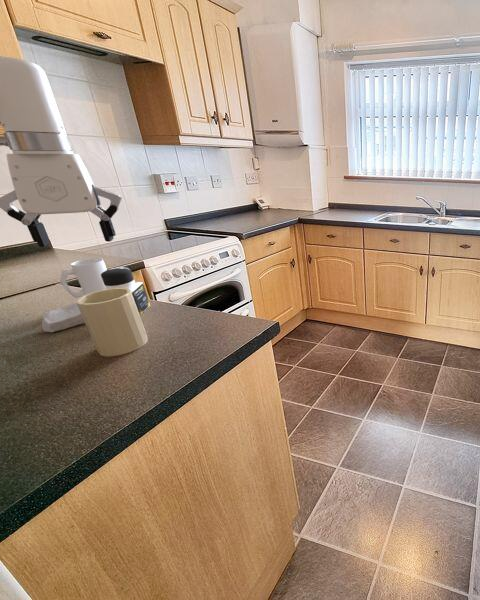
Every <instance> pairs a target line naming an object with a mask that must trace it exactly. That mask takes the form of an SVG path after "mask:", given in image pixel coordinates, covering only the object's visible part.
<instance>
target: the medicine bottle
mask: <svg viewBox="0 0 480 600" xmlns="http://www.w3.org/2000/svg"><path fill="white" fill-rule="evenodd" d="M101 277H102V280H103V282H104V285H105V287H106V288H107V289H111V288H127V289H130V290H131V293H132V295H133V298H134V301H135V304H136V306H137V309H138V312H139V315H141V316H142V315H143V314H144V313H145V312H146V310H148V308H149V307H150V306H151V302H150V299H149V297H148V294H147V291H146V288H145V285H144V282H143V281H137V282H136V281H135V278H134V276H133V273H132V269H130V268H128V267H113V268H109V269H107V270H106V271H104V272H103V273H102V274H101ZM143 312H144V313H143ZM142 313H143V314H142Z"/></svg>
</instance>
